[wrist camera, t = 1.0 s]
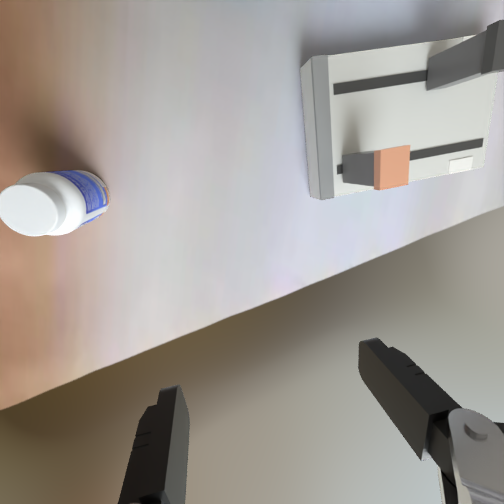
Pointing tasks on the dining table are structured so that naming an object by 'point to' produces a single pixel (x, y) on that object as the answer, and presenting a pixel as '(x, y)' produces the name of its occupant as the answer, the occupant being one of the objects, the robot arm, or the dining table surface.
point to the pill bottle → (53, 202)
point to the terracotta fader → (378, 167)
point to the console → (391, 114)
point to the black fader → (468, 59)
